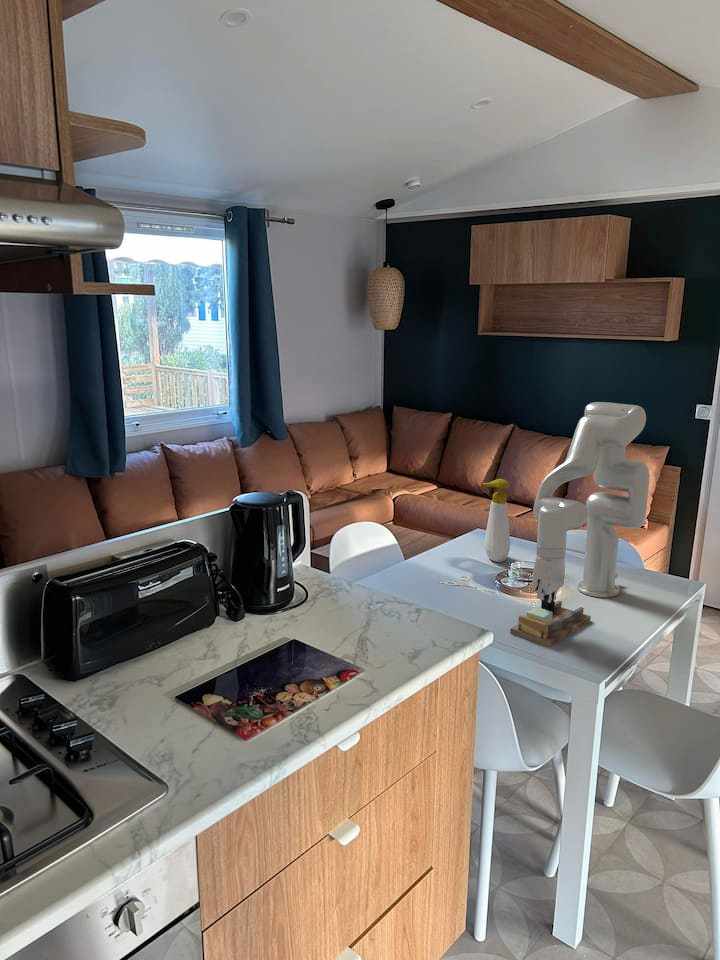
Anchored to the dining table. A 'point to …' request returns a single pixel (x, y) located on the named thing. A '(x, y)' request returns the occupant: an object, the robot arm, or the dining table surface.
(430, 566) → the dining table surface
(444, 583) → the scissors
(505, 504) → the spray bottle
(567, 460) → the robot arm
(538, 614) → the pale green cube
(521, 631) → the track
